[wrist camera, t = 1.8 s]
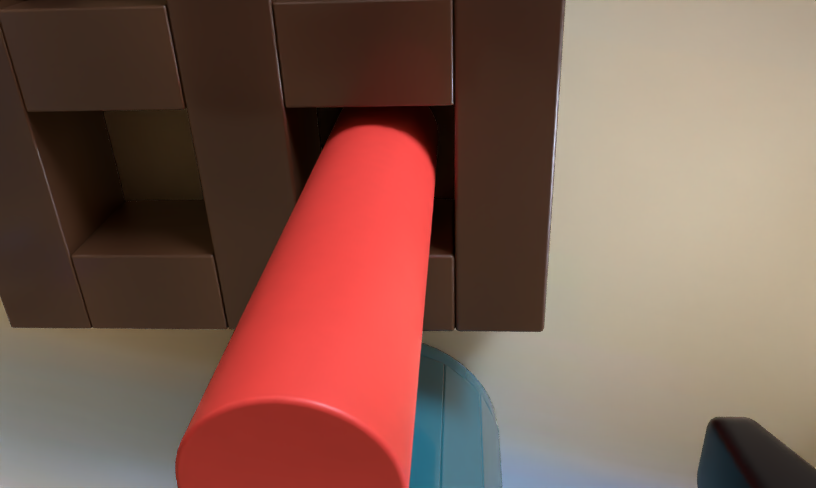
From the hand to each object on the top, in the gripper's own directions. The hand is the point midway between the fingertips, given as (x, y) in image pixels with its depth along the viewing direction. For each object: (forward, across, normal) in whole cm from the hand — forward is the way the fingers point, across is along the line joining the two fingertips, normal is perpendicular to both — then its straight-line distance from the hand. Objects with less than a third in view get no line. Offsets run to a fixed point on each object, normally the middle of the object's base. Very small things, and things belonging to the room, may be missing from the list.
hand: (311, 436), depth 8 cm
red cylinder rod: (+10, 0, 0) cm, 10 cm away
